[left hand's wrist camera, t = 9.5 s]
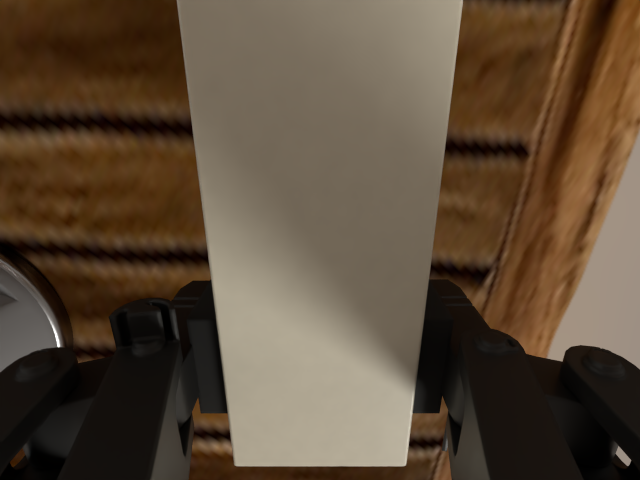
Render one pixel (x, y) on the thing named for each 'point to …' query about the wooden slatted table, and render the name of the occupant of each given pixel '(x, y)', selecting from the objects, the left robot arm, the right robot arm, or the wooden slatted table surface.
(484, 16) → the wooden slatted table surface
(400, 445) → the beam
